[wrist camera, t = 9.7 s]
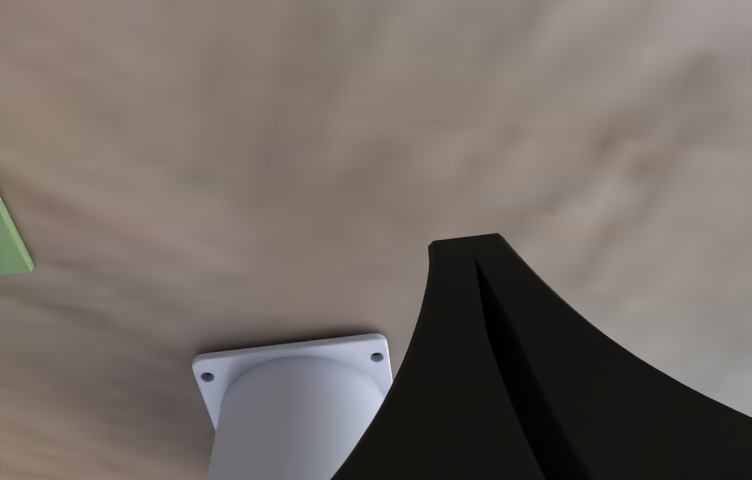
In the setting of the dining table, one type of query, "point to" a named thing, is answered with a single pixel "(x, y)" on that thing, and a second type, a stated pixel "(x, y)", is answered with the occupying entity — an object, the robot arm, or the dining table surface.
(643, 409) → the robot arm
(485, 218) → the dining table surface
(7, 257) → the mat
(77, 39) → the dining table surface
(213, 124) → the dining table surface
